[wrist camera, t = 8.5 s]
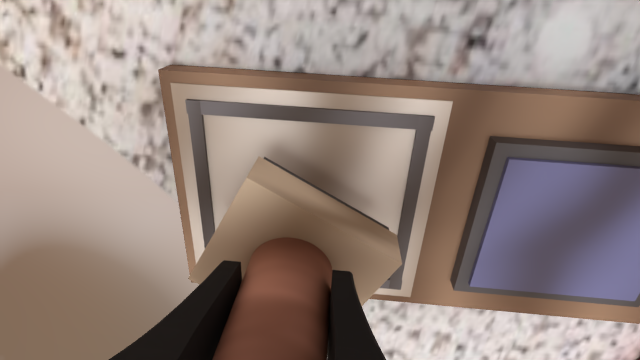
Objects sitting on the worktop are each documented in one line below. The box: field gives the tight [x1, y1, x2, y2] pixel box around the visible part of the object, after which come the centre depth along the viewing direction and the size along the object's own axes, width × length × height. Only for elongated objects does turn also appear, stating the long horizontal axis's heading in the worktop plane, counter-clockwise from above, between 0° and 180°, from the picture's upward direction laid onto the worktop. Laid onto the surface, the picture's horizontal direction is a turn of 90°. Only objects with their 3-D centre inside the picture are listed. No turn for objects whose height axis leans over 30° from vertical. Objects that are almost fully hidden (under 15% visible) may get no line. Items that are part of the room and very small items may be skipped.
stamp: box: [188, 157, 402, 360], centre depth 13 cm, size 6×5×8 cm
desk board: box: [158, 65, 640, 324], centre depth 18 cm, size 25×12×2 cm, turn 87°
